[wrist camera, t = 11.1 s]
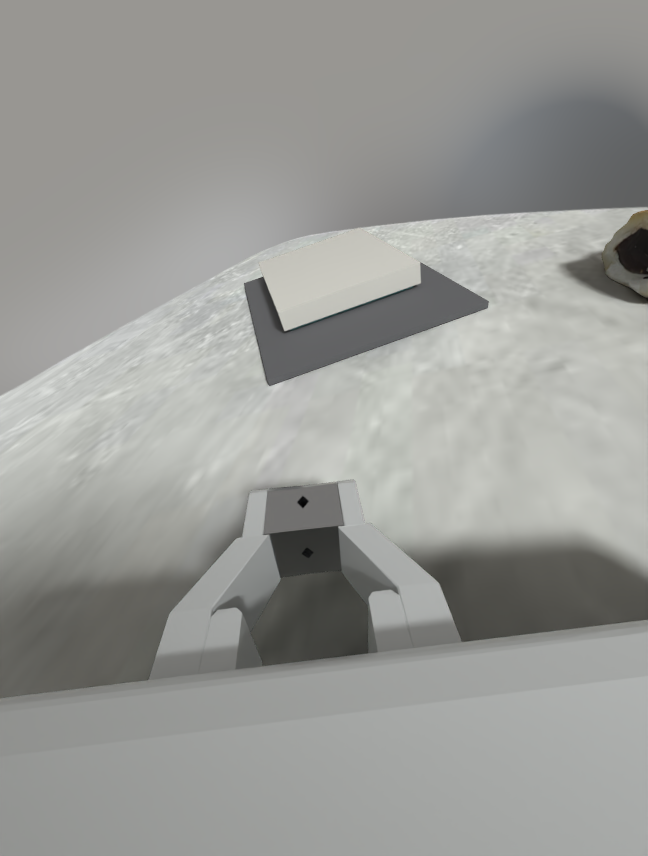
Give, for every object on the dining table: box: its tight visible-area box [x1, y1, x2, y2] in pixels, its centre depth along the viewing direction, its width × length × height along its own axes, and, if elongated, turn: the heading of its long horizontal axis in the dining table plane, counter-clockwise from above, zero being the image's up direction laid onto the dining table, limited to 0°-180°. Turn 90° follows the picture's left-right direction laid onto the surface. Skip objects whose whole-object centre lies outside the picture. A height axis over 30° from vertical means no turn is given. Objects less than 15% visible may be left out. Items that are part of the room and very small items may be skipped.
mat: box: [244, 262, 489, 385], centre depth 26 cm, size 18×14×1 cm
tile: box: [258, 228, 421, 331], centre depth 26 cm, size 2×10×12 cm
